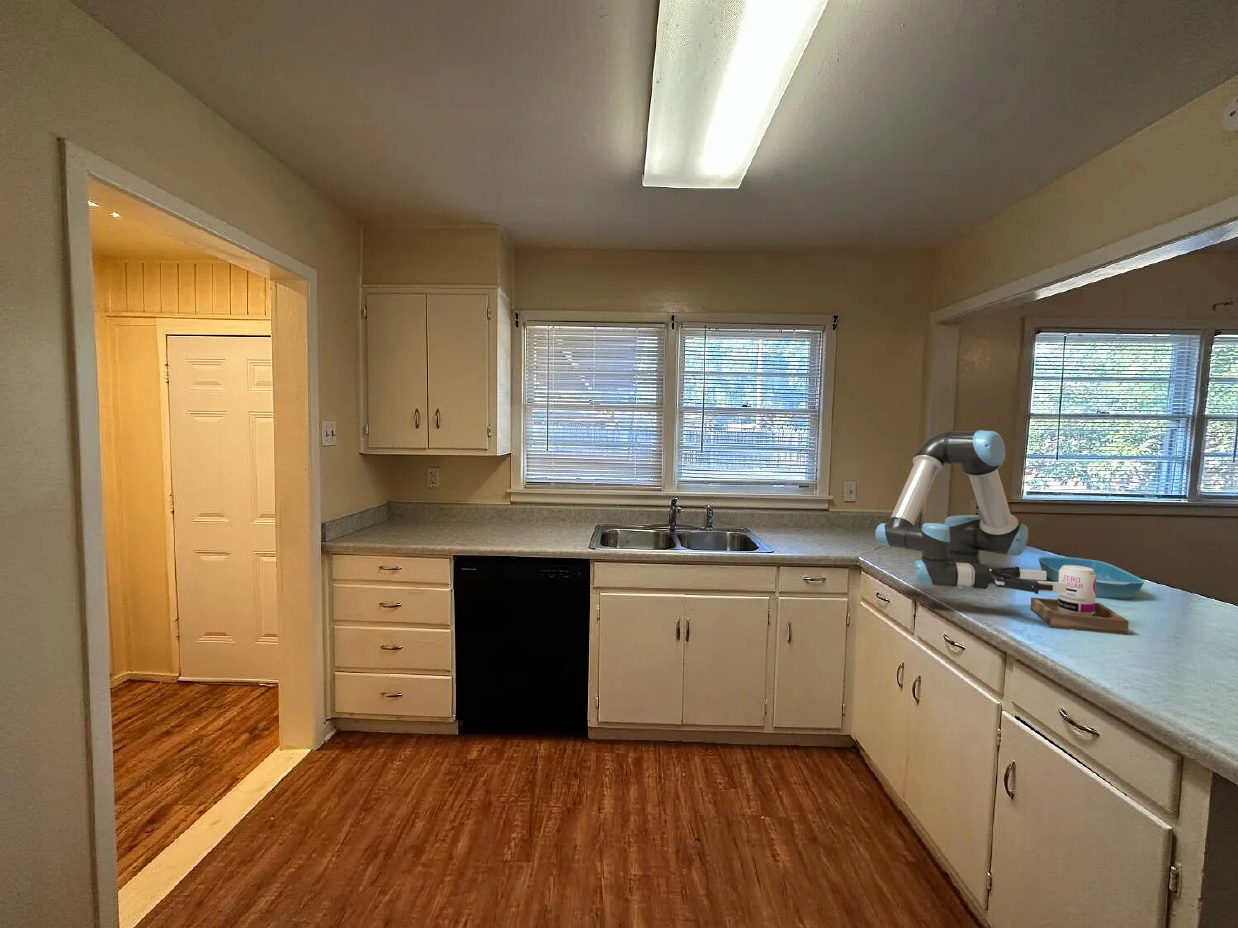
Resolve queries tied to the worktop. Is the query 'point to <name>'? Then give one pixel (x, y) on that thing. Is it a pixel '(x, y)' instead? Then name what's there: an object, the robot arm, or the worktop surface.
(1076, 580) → the supplement can
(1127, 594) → the casserole dish
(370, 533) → the worktop surface
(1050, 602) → the walnut tray
